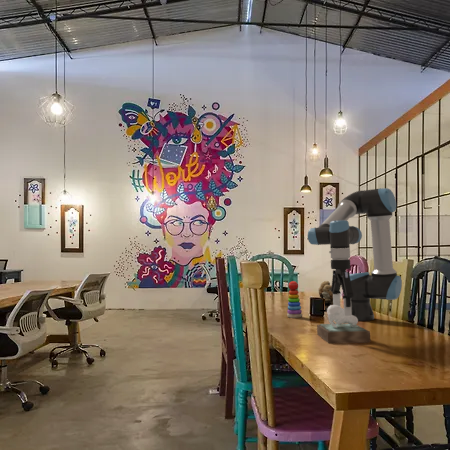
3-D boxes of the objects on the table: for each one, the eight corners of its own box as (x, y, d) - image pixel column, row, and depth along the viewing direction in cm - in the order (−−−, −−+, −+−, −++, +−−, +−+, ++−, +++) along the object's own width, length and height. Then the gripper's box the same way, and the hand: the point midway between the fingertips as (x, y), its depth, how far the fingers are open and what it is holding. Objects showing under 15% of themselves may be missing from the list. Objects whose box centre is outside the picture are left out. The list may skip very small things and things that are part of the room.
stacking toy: (301, 315, 220) (300, 280, 221) (303, 318, 212) (302, 281, 213) (286, 315, 221) (286, 280, 222) (287, 318, 213) (286, 281, 214)
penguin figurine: (326, 303, 167) (357, 306, 166) (325, 324, 167) (355, 328, 165) (328, 305, 161) (360, 308, 159) (326, 327, 160) (358, 331, 159)
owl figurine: (339, 312, 231) (338, 282, 232) (317, 312, 234) (316, 282, 235) (339, 308, 248) (338, 279, 249) (319, 307, 251) (318, 279, 252)
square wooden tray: (355, 333, 171) (355, 323, 171) (370, 342, 155) (369, 330, 155) (317, 334, 170) (317, 323, 171) (328, 343, 154) (327, 331, 155)
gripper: (322, 258, 177) (324, 308, 176) (340, 260, 152) (342, 318, 151) (339, 258, 177) (341, 307, 176) (360, 259, 152) (363, 317, 151)
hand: (342, 312), depth 164 cm, fingers open, 13 cm apart
